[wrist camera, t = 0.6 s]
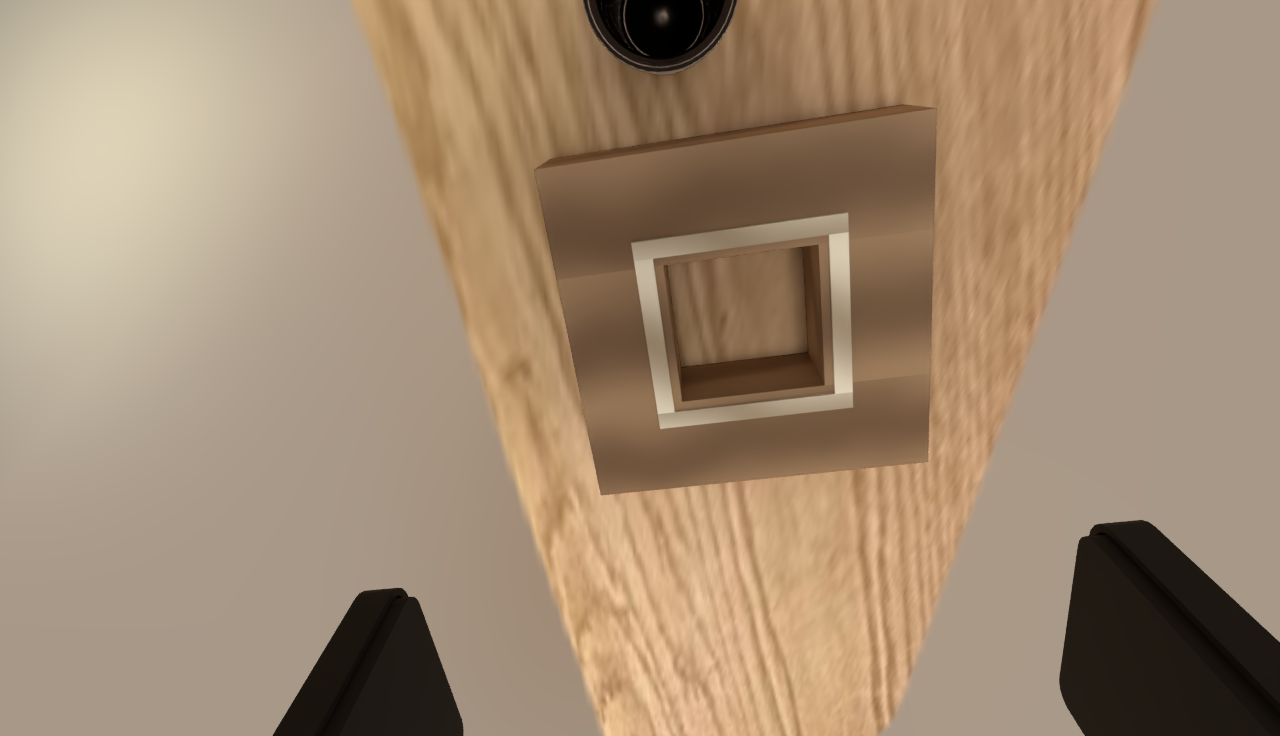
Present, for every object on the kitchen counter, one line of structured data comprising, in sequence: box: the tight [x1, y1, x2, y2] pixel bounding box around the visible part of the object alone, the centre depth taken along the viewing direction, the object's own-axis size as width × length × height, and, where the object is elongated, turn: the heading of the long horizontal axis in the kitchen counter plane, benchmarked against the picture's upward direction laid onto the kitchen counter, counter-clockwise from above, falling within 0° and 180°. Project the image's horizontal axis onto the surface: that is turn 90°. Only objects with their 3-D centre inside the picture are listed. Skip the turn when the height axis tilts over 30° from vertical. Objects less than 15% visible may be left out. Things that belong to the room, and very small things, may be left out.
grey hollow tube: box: [583, 0, 738, 75], centre depth 24 cm, size 4×4×10 cm
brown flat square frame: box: [534, 105, 937, 495], centre depth 31 cm, size 16×16×4 cm
